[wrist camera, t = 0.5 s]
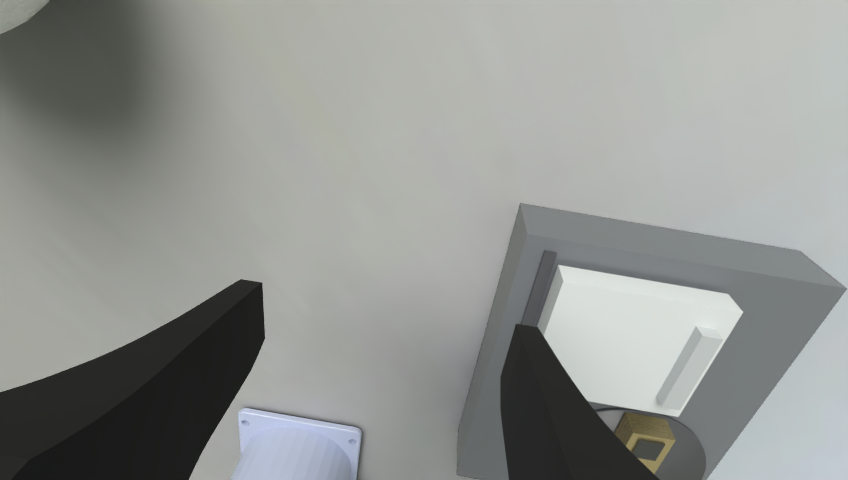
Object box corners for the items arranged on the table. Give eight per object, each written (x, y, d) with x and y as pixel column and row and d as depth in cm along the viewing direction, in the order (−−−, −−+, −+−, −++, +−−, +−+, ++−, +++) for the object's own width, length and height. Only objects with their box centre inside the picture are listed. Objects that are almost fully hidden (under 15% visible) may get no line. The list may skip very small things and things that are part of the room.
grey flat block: (651, 482, 30) (670, 533, 27) (453, 447, 30) (451, 494, 27) (800, 251, 21) (850, 291, 18) (520, 203, 21) (527, 236, 18)
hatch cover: (668, 396, 22) (683, 428, 20) (521, 370, 22) (525, 400, 20) (728, 294, 19) (751, 322, 17) (558, 264, 19) (566, 290, 17)
